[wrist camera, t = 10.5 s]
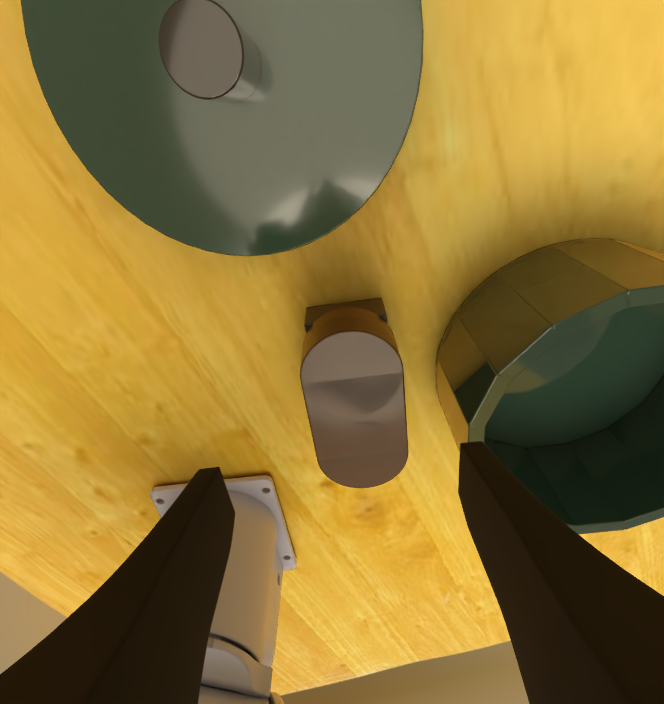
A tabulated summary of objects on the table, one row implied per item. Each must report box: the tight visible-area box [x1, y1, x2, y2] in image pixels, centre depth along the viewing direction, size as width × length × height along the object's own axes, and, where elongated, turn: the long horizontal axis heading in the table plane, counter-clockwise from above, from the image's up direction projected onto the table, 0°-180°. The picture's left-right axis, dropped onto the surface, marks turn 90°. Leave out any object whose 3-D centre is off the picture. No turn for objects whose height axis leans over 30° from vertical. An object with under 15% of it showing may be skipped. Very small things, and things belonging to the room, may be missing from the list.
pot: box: [436, 238, 664, 534], centre depth 20 cm, size 13×13×6 cm
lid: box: [21, 0, 423, 256], centre depth 14 cm, size 14×14×5 cm
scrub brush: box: [300, 298, 408, 488], centre depth 20 cm, size 9×4×4 cm, turn 8°
